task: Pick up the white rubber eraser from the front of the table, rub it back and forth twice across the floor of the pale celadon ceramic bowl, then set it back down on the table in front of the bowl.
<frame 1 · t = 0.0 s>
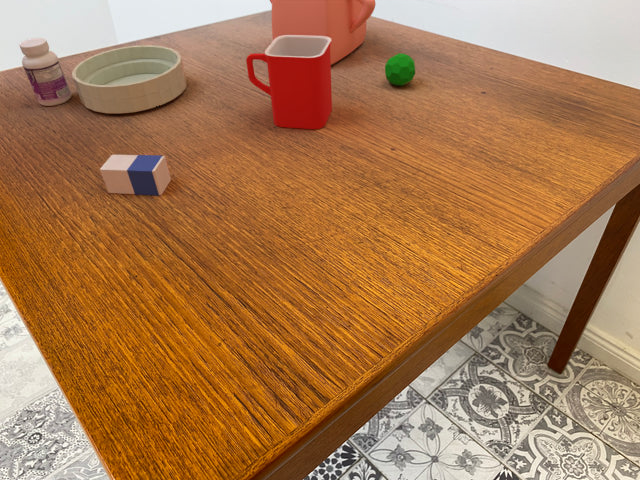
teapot: (327, 47, 100), on the table
bowl: (136, 93, 87), on the table
polyhedron: (399, 85, 86), on the table
eraser: (140, 186, 66), on the table
mug: (291, 116, 79), on the table
pill bottle: (56, 101, 87), on the table
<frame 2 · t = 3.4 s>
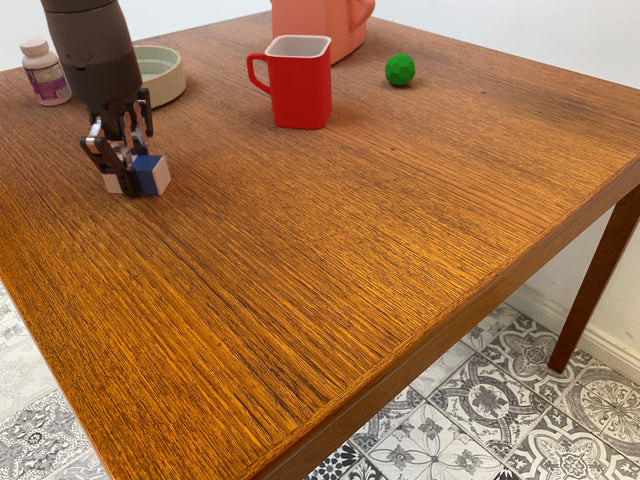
hand: (139, 183, 65), 0 cm above the table, tool pointing down, fingers closed on eraser, 3 cm apart
eraser: (140, 186, 66), on the table, touching gripper
everything else where it was.
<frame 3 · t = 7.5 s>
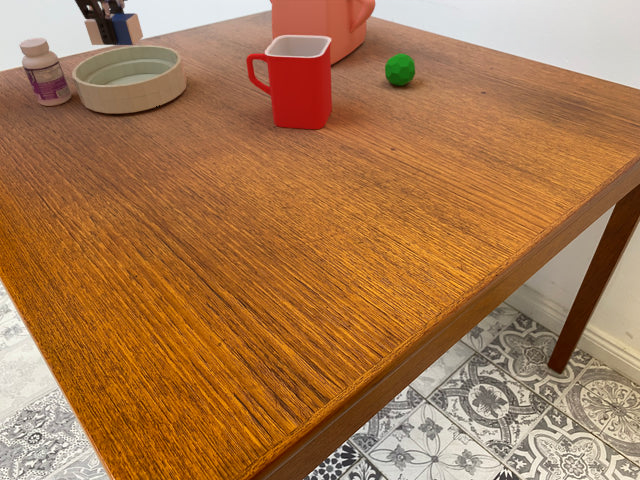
hand: (116, 38, 81), 9 cm above the table, tool pointing down, fingers closed on eraser, 3 cm apart
eraser: (117, 40, 81), point 9 cm above the table, touching gripper
everything else where it was.
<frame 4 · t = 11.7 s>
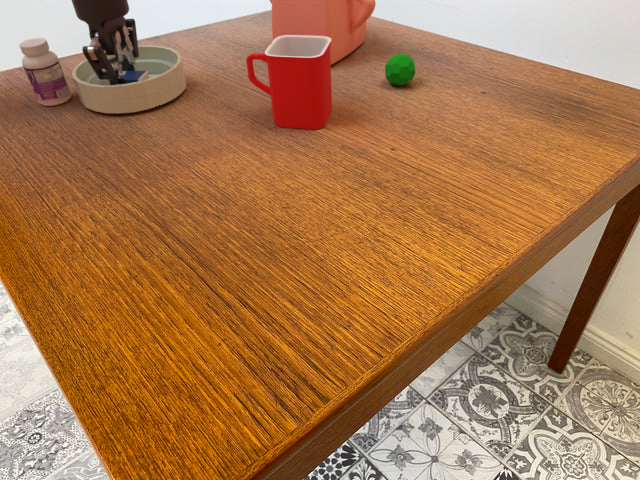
hand: (128, 94, 85), 1 cm above the table, tool pointing down, fingers closed on eraser, 3 cm apart
eraser: (129, 95, 85), point 1 cm above the table, touching bowl, gripper
everything else where it was.
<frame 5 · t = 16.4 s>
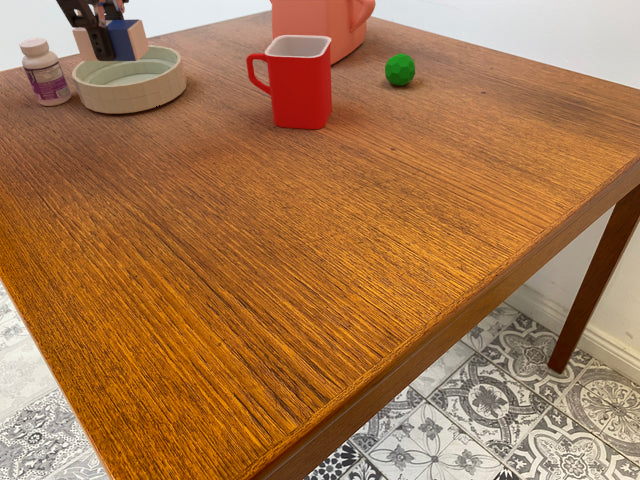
hand: (114, 52, 62), 14 cm above the table, tool pointing down, fingers closed on eraser, 3 cm apart
eraser: (116, 55, 62), point 14 cm above the table, touching gripper
everything else where it was.
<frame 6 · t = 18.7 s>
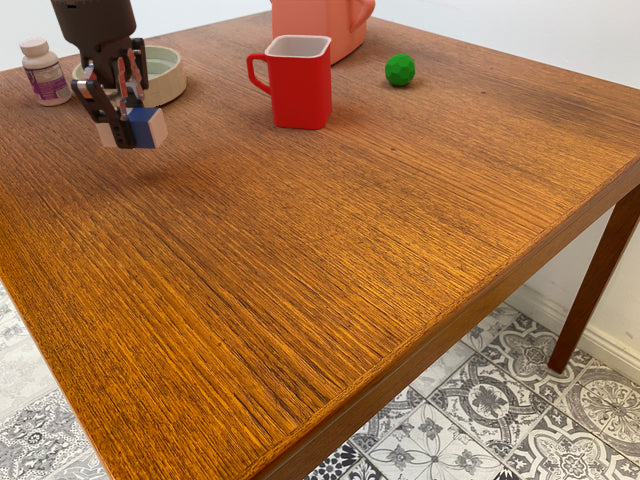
hand: (134, 138, 63), 6 cm above the table, tool pointing down, fingers closed on eraser, 3 cm apart
eraser: (136, 140, 64), point 5 cm above the table, touching gripper
everything else where it was.
when the fingers open (0 cm above the table, at t = 20.4 s): eraser stays where it is, on the table.
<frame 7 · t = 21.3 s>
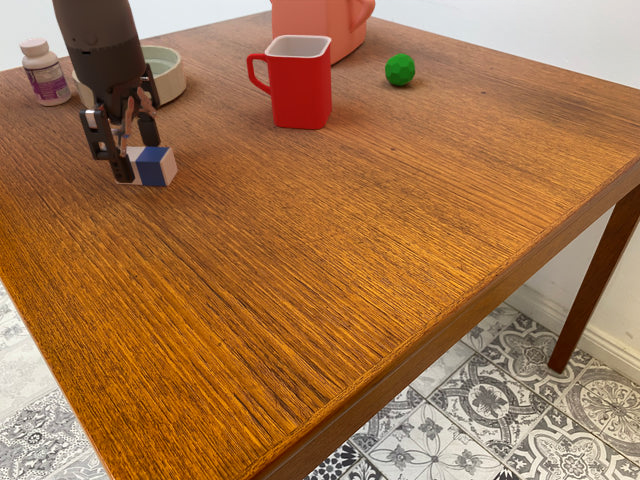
hand: (140, 162, 66), 2 cm above the table, tool pointing down, fingers open, 8 cm apart
eraser: (147, 177, 67), on the table
everything else where it was.
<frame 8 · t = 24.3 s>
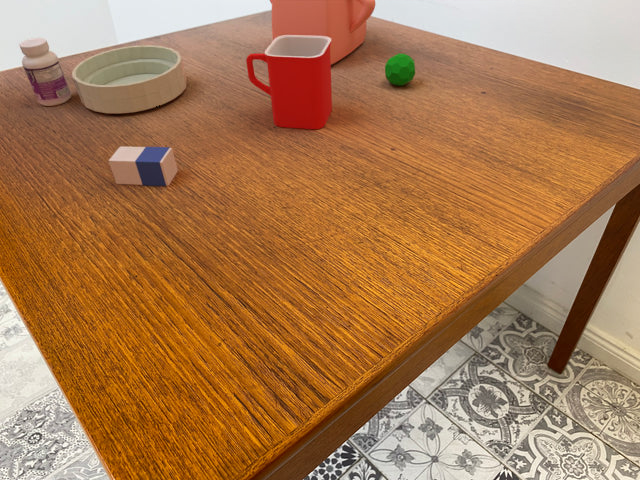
nothing on the table moved.
at the end: eraser inside the target area on the table beside the bowl (0.2 cm from its centre), on the table; the gripper is holding nothing; eraser tilted 0° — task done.
